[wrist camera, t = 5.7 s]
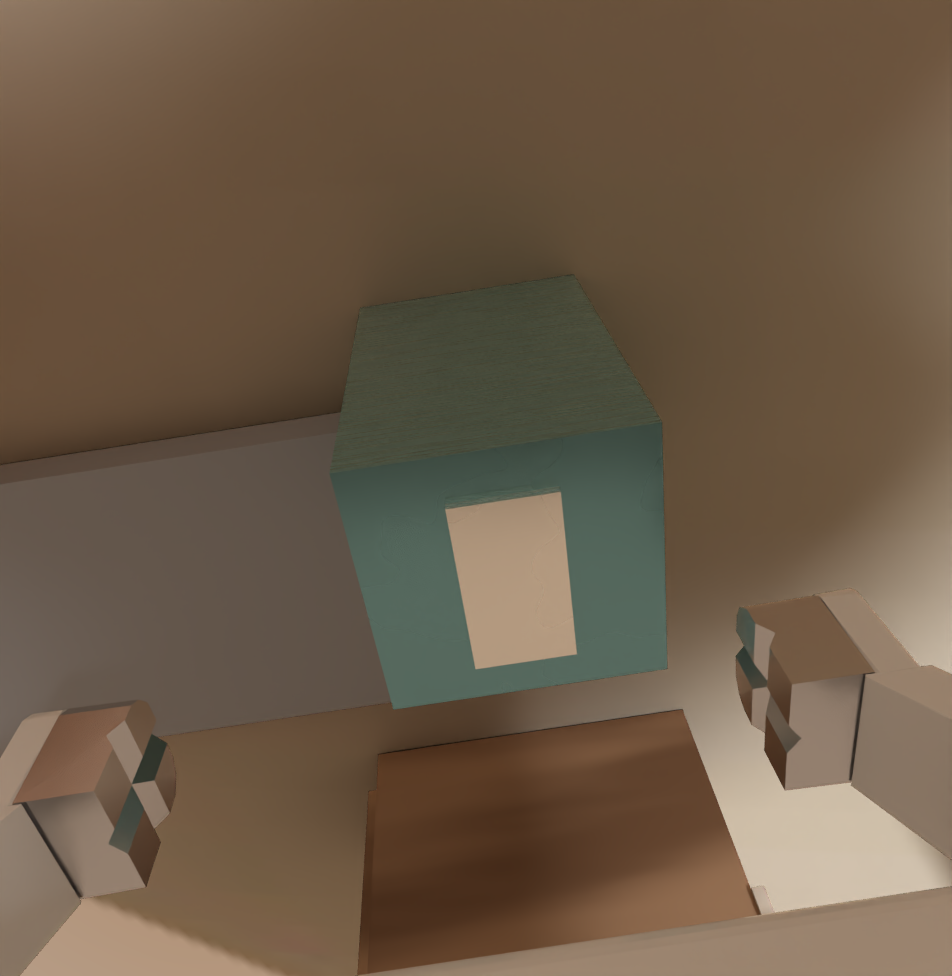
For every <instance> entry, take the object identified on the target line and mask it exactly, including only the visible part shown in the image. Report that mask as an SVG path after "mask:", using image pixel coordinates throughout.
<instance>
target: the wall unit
mask: <svg viewBox="0 0 952 976" xmlns="http://www.w3.org/2000/svg"><path fill="white" fill-rule="evenodd" d="M769 913H775V911H774V909H773V906H772V904H771V901H770V899H769V896H768V894H767V891H766V889H765V886H757V887H751V888H750V886H749V883H748V880H747V878H746V875H745V873H744V870H743V867H742V865H741V862H740V859H739V857H738V854H737V852H736V849H735V846H734V844H733V841H732V838H731V836H730V833H729V831H728V828H727V825H726V823H725V820H724V817H723V815H722V812H721V810H720V807H719V804H718V802H717V799H716V796H715V794H714V791H713V789H712V786H711V783H710V781H709V778H708V775H707V773H706V770H705V768H704V765H703V762H702V760H701V757H700V754H699V752H698V749H697V747H696V744H695V741H694V739H693V736H692V733H691V731H690V728H689V726H688V723H687V720H686V718H685V715H684V712H683V710H676V711H669V712H663V713H656V714H649V715H642V716H636V717H629V718H622V719H615V720H609V721H602V722H595V723H588V724H582V725H575V726H568V727H561V728H555V729H548V730H541V731H534V732H527V733H521V734H514V735H507V736H500V737H494V738H487V739H480V740H473V741H467V742H460V743H453V744H446V745H440V746H433V747H426V748H419V749H413V750H406V751H399V752H392V753H385V754H379V755H378V771H377V790H373V791H369V794H368V810H367V827H366V843H365V860H364V876H363V893H362V909H361V926H360V942H359V959H358V975H363V974H370V973H377V972H383V971H390V970H397V969H403V968H410V967H417V966H423V965H430V964H437V963H443V962H450V961H457V960H463V959H470V958H477V957H483V956H490V955H497V954H503V953H510V952H517V951H523V950H530V949H537V948H543V947H550V946H557V945H563V944H570V943H577V942H583V941H590V940H596V939H603V938H610V937H616V936H623V935H630V934H636V933H643V932H650V931H656V930H663V929H670V928H676V927H683V926H689V925H696V924H703V923H709V922H716V921H723V920H729V919H736V918H743V917H749V916H756V915H763V914H769Z"/></svg>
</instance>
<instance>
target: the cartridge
mask: <svg viewBox="0 0 952 976" xmlns="http://www.w3.org/2000/svg"><path fill="white" fill-rule="evenodd" d="M329 474H330V478H331V481H332V485H333V489H334V492H335V496H336V500H337V503H338V507H339V511H340V514H341V518H342V522H343V525H344V529H345V533H346V537H347V540H348V544H349V548H350V551H351V555H352V559H353V562H354V566H355V570H356V573H357V577H358V581H359V585H360V588H361V592H362V596H363V599H364V603H365V607H366V610H367V614H368V618H369V621H370V625H371V629H372V633H373V636H374V640H375V644H376V647H377V651H378V655H379V658H380V662H381V666H382V669H383V673H384V677H385V680H386V684H387V688H388V692H389V695H390V699H391V703H392V706H393V710H394V709H401V708H408V707H415V706H421V705H428V704H435V703H441V702H448V701H455V700H461V699H468V698H475V697H482V696H488V695H495V694H502V693H508V692H515V691H522V690H529V689H535V688H542V687H549V686H555V685H562V684H569V683H575V682H582V681H589V680H596V679H602V678H609V677H616V676H622V675H629V674H636V673H642V672H649V671H656V670H663V669H667V632H666V585H665V538H664V491H663V444H662V421H661V419H660V418H659V416H658V414H657V413H656V411H655V409H654V408H653V406H652V404H651V403H650V401H649V399H648V398H647V396H646V394H645V393H644V391H643V389H642V388H641V386H640V384H639V383H638V381H637V379H636V378H635V376H634V374H633V373H632V371H631V369H630V368H629V366H628V364H627V363H626V361H625V359H624V358H623V356H622V354H621V353H620V351H619V349H618V348H617V346H616V344H615V343H614V341H613V339H612V338H611V336H610V334H609V333H608V331H607V329H606V328H605V326H604V324H603V323H602V321H601V319H600V318H599V316H598V314H597V313H596V311H595V309H594V308H593V306H592V304H591V303H590V301H589V299H588V298H587V296H586V294H585V293H584V291H583V289H582V288H581V286H580V284H579V283H578V281H577V279H576V278H575V276H574V274H573V275H567V276H560V277H554V278H548V279H541V280H535V281H529V282H522V283H516V284H510V285H503V286H497V287H490V288H484V289H478V290H471V291H465V292H459V293H452V294H446V295H440V296H433V297H427V298H420V299H414V300H408V301H401V302H395V303H389V304H382V305H376V306H370V307H363V308H360V312H359V317H358V323H357V328H356V333H355V339H354V344H353V349H352V355H351V360H350V365H349V371H348V376H347V382H346V387H345V392H344V398H343V403H342V408H341V414H340V419H339V424H338V430H337V435H336V440H335V446H334V451H333V457H332V462H331V467H330V473H329Z"/></svg>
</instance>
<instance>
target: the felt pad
mask: <svg viewBox="0 0 952 976" xmlns="http://www.w3.org/2000/svg"><path fill="white" fill-rule="evenodd" d="M340 414H341V412H339V413H332V414H326V415H319V416H313V417H306V418H300V419H294V420H287V421H281V422H274V423H268V424H261V425H255V426H248V427H242V428H235V429H229V430H223V431H216V432H210V433H203V434H197V435H190V436H184V437H177V438H171V439H164V440H158V441H152V442H145V443H139V444H132V445H126V446H119V447H113V448H106V449H100V450H93V451H87V452H81V453H74V454H68V455H61V456H55V457H48V458H42V459H35V460H29V461H23V462H16V463H10V464H3V465H0V758H1V756H2V754H3V753H4V751H5V749H6V748H7V746H8V744H9V742H10V741H11V739H12V737H13V736H14V734H15V732H16V731H17V729H18V727H19V726H20V724H21V722H22V721H23V720H24V719H26V718H27V717H29V716H30V715H32V714H36V713H44V712H51V711H59V710H68V709H69V708H77V707H85V706H92V705H100V704H108V703H115V702H123V701H131V700H138V699H139V700H142V701H145V702H148V704H149V706H150V708H151V710H152V712H153V714H154V716H155V718H156V723H155V725H154V728H153V731H152V733H151V734H153V735H154V736H156V737H162V736H169V735H175V734H182V733H189V732H195V731H202V730H209V729H216V728H222V727H229V726H236V725H242V724H249V723H256V722H263V721H269V720H276V719H283V718H289V717H296V716H303V715H310V714H316V713H323V712H330V711H336V710H343V709H350V708H357V707H363V706H370V705H377V704H383V703H390V702H391V699H390V695H389V692H388V688H387V684H386V680H385V677H384V673H383V669H382V666H381V662H380V658H379V655H378V651H377V647H376V644H375V640H374V636H373V633H372V629H371V625H370V621H369V618H368V614H367V610H366V607H365V603H364V599H363V596H362V592H361V588H360V585H359V581H358V577H357V573H356V570H355V566H354V562H353V559H352V555H351V551H350V548H349V544H348V540H347V537H346V533H345V529H344V525H343V522H342V518H341V514H340V511H339V507H338V503H337V500H336V496H335V492H334V489H333V485H332V481H331V478H330V474H329V473H330V467H331V462H332V457H333V451H334V446H335V440H336V435H337V430H338V424H339V419H340Z"/></svg>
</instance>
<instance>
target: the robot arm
mask: <svg viewBox="0 0 952 976" xmlns="http://www.w3.org/2000/svg"><path fill="white" fill-rule="evenodd" d="M736 631H737V633H738V635H739V637H740V639H741V641H742V642H743V644H744V647H743V648H742V649H741V650H740V652H739V653H738V654H737V655H736V679H737V684H738V690H739V695H740V698H741V701H742V704H743V707H744V710H745V712H746V714H747V716H748V718H749V720H750V722H751V724H752V725H753V726H755V727H756V728H758V729H760V730H761V731H763V732H764V733H765V748H764V751H765V753H766V755H767V756H768V758H769V760H770V762H771V764H772V766H773V768H774V770H775V772H776V774H777V776H778V778H779V780H780V782H781V784H782V786H783V788H784V790H793V789H801V788H809V787H817V786H825V785H833V784H841V783H849V782H852V783H851V786H853V787H854V788H855V789H857V790H858V791H859V792H861V793H862V794H863V795H865V796H866V797H867V798H869V799H870V800H871V801H873V802H874V803H875V804H877V805H878V806H879V807H881V808H882V809H884V810H885V811H886V812H888V813H889V814H890V815H892V816H893V817H894V818H896V819H897V820H898V821H900V822H901V823H902V824H904V825H905V826H906V827H908V828H909V829H910V830H912V831H913V832H914V833H916V834H917V835H919V836H920V837H921V838H923V839H924V840H925V841H927V842H928V843H929V844H931V845H932V846H933V847H935V848H936V849H937V850H939V851H940V852H941V853H943V854H944V855H945V856H947V857H948V858H949V859H951V860H952V674H950V673H948V672H946V671H943V670H941V669H939V668H937V667H935V666H932V665H928V666H921V667H920V666H919V665H918V664H917V662H916V661H915V660H914V659H913V658H912V656H911V655H910V654H909V653H908V652H907V650H906V649H905V648H904V647H903V646H902V644H901V643H900V642H899V641H898V640H897V638H896V637H895V636H894V635H893V634H892V632H891V631H890V630H889V629H888V628H887V626H886V625H885V624H884V623H883V622H882V620H881V619H880V618H879V617H878V616H877V614H876V613H875V612H874V611H873V610H872V608H871V607H870V606H869V605H868V604H867V602H866V601H865V600H864V599H863V598H862V596H861V595H860V594H859V593H858V592H857V591H855V590H853V589H851V588H848V589H842V590H836V591H831V592H825V593H819V594H814V595H813V596H807V597H800V598H794V599H788V600H782V601H775V602H769V603H763V604H757V605H750V606H744V607H740V608H739V611H738V614H737V624H736ZM155 723H156V718H155V716H154V714H153V712H152V710H151V708H150V706H149V704H148V702H145V701H142V700H139V699H138V700H131V701H123V702H115V703H108V704H100V705H92V706H85V707H77V708H69V709H68V710H59V711H51V712H44V713H36V714H32V715H30V716H29V717H27V718H26V719H24V720H23V721H22V722H21V724H20V726H19V727H18V729H17V731H16V732H15V734H14V736H13V737H12V739H11V741H10V742H9V744H8V746H7V748H6V749H5V751H4V753H3V754H2V756H1V758H0V976H20V974H21V973H22V972H23V971H24V970H25V969H26V967H27V966H28V965H29V964H30V963H31V962H32V960H33V959H34V958H35V957H36V956H37V954H38V953H39V952H40V951H41V950H42V949H43V947H44V946H45V945H46V944H47V943H48V942H49V940H50V939H51V938H52V937H53V936H54V934H55V933H56V932H57V931H58V929H59V928H60V927H61V926H62V925H63V924H64V923H65V921H66V920H67V919H68V918H69V917H70V915H71V914H72V913H73V912H74V911H75V910H76V908H77V907H78V906H79V905H80V904H81V900H80V899H84V898H90V897H95V896H101V895H106V894H112V893H117V892H123V891H128V890H134V889H139V888H145V887H146V886H147V882H148V879H149V876H150V873H151V870H152V867H153V864H154V861H155V858H156V855H157V852H158V849H159V846H160V843H161V842H160V840H159V838H158V836H157V834H156V832H155V830H154V829H155V828H156V827H157V826H158V825H159V824H160V823H161V822H162V821H163V820H164V819H165V818H166V817H167V816H168V815H169V814H170V811H171V808H172V805H173V801H174V798H175V792H176V769H175V764H174V759H173V755H172V753H171V751H170V748H169V746H168V744H167V743H166V742H164V741H163V740H161V739H159V738H158V737H156V736H154V735H153V734H151V733H152V731H153V728H154V725H155ZM357 976H952V886H950V887H943V888H936V889H930V890H923V891H916V892H910V893H903V894H896V895H890V896H883V897H876V898H869V899H863V900H856V901H849V902H843V903H836V904H829V905H823V906H816V907H809V908H803V909H796V910H789V911H783V912H776V913H769V914H763V915H756V916H749V917H743V918H736V919H729V920H723V921H716V922H709V923H703V924H696V925H689V926H683V927H676V928H670V929H663V930H656V931H650V932H643V933H636V934H630V935H623V936H616V937H610V938H603V939H596V940H590V941H583V942H577V943H570V944H563V945H557V946H550V947H543V948H537V949H530V950H523V951H517V952H510V953H503V954H497V955H490V956H483V957H477V958H470V959H463V960H457V961H450V962H443V963H437V964H430V965H423V966H417V967H410V968H403V969H397V970H390V971H383V972H377V973H370V974H363V975H357Z"/></svg>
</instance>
